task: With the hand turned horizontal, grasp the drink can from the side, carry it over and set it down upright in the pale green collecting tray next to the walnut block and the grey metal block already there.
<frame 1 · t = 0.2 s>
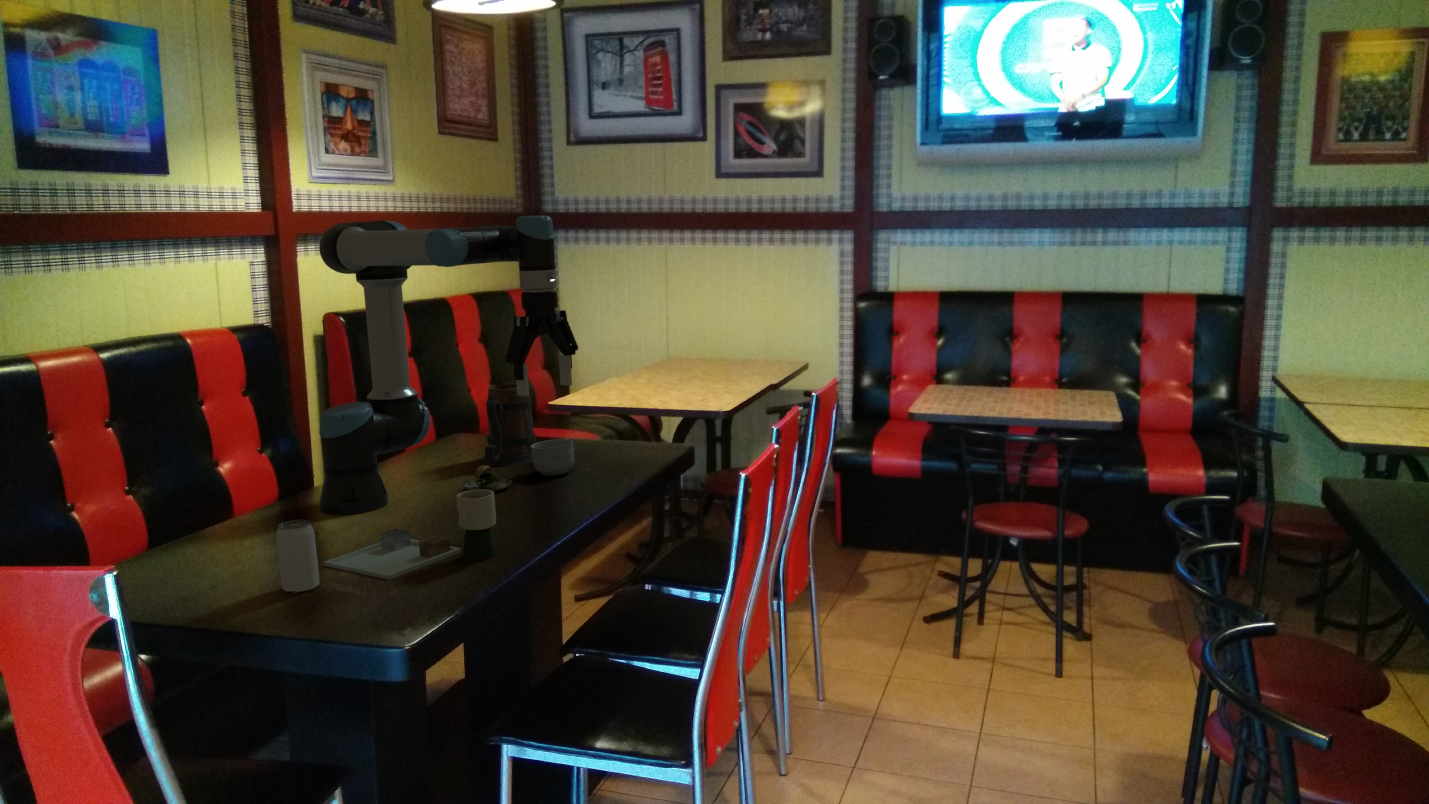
hand: (545, 390, 235), 28 cm above the table, tool pointing down, fingers open, 13 cm apart
walnut block: (435, 554, 214), point 1 cm above the table, touching tray
character mug: (480, 560, 212), on the table
grey metal block: (396, 546, 220), point 1 cm above the table, touching tray
teacup: (558, 472, 282), on the table
tray: (393, 562, 212), on the table
tankard: (508, 461, 296), on the table
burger: (488, 491, 267), on the table
can: (301, 588, 200), on the table
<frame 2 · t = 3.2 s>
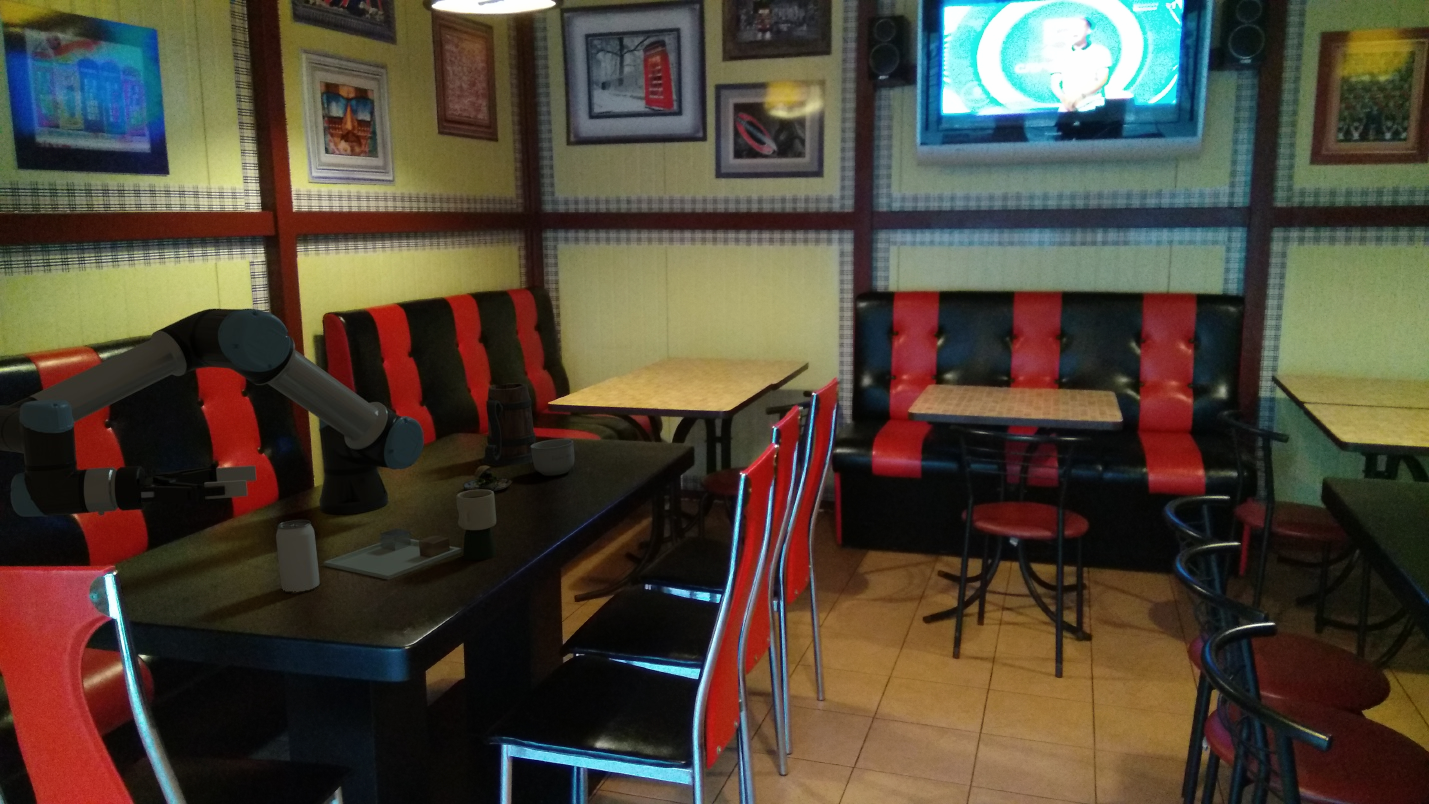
hand: (251, 480, 195), 21 cm above the table, tool horizontal, fingers open, 13 cm apart
nothing on the table moved.
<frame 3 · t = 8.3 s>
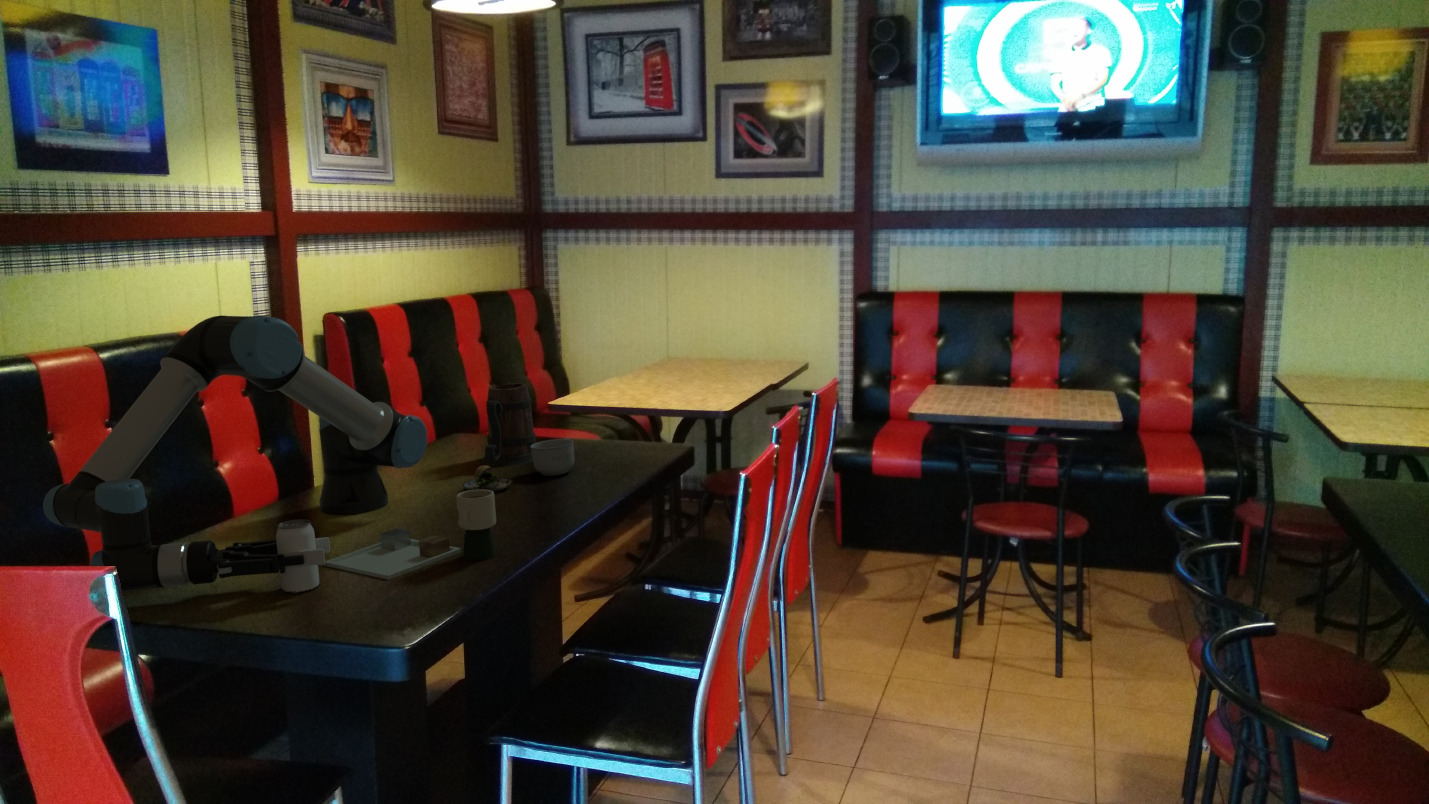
hand: (326, 550, 200), 7 cm above the table, tool horizontal, fingers closed on can, 6 cm apart
can: (301, 588, 200), on the table, touching gripper
everything else where it was.
when the fingers open (9 cm above the table, at t = 12.9 s): can drops 1 cm, resting on tray.
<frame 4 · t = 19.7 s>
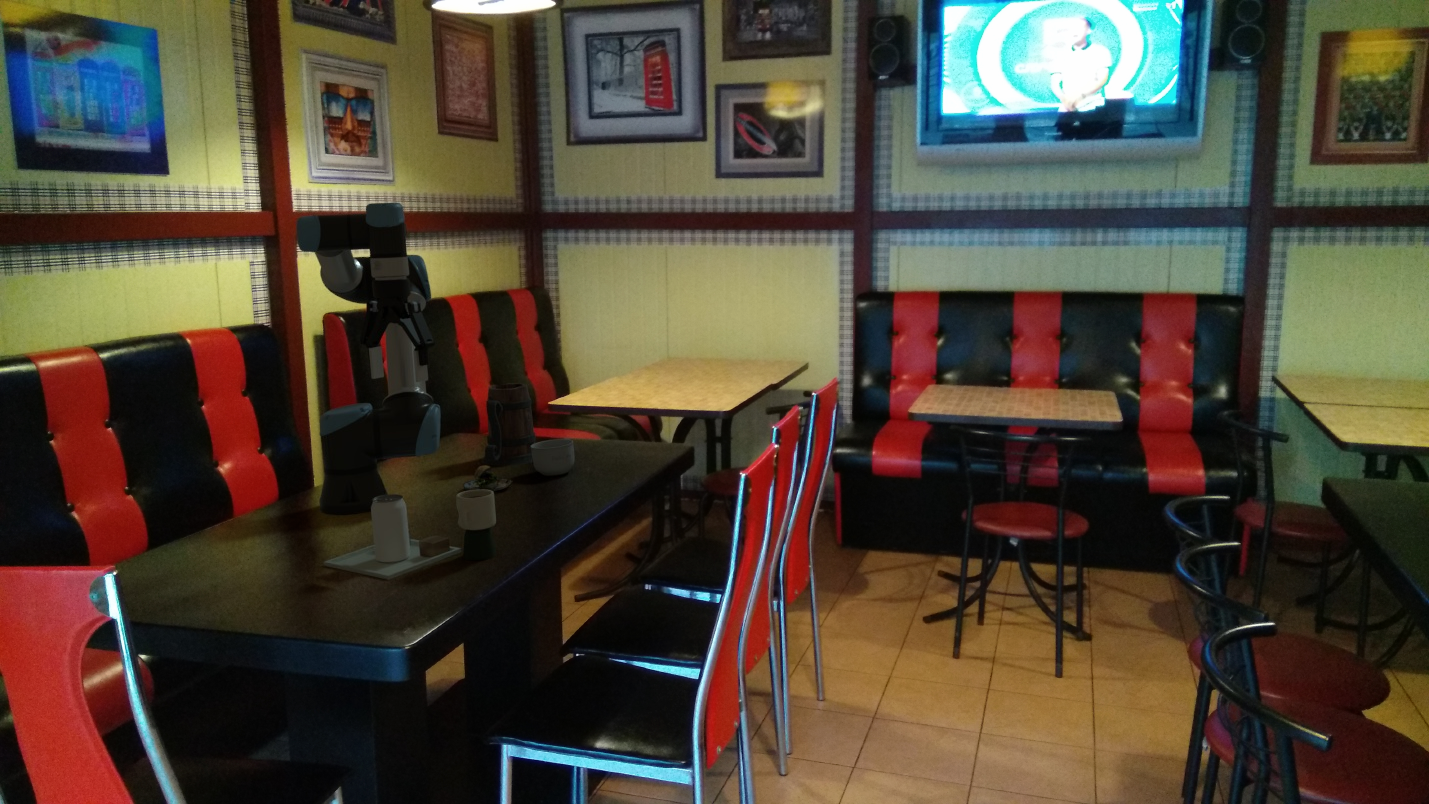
hand: (399, 379, 233), 32 cm above the table, tool pointing down, fingers open, 13 cm apart
can: (393, 559, 212), point 1 cm above the table, touching tray
everything else where it was.
at the end: can inside the target area on the tray (0.0 cm from its centre), point 0.6 cm above the tray's base; can tilted 0°; the gripper is holding nothing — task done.
